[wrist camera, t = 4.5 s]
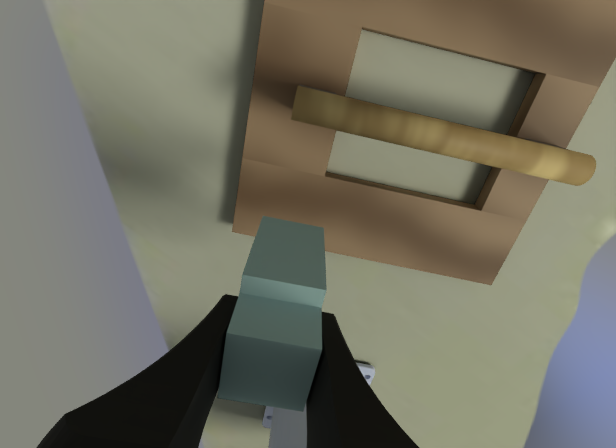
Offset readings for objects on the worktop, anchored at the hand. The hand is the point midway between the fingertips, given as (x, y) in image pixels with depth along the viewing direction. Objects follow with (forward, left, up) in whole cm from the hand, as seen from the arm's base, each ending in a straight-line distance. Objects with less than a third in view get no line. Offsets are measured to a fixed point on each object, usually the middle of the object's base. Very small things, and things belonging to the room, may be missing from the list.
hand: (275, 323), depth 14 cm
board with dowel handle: (+7, -5, -10) cm, 14 cm away
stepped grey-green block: (0, 0, -5) cm, 5 cm away
